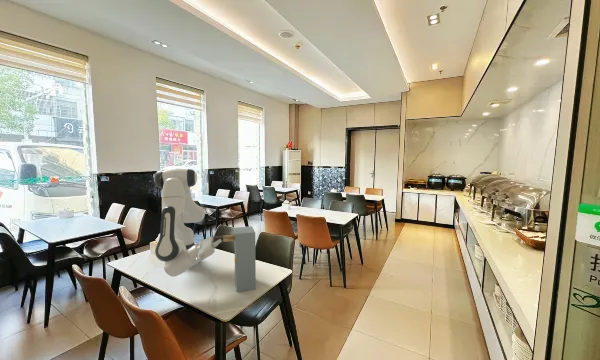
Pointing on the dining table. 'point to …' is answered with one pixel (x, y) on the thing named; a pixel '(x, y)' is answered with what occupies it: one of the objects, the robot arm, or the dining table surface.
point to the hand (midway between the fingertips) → (221, 238)
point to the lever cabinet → (245, 259)
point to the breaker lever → (224, 238)
